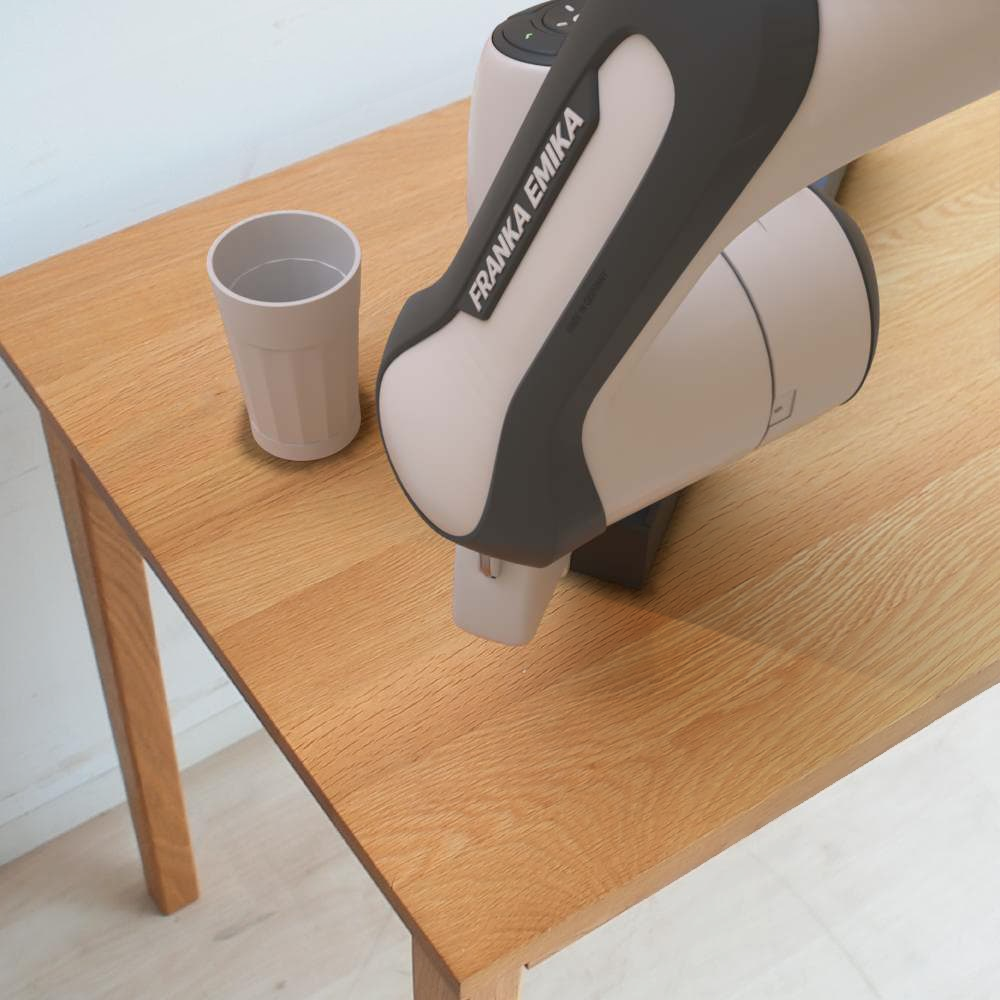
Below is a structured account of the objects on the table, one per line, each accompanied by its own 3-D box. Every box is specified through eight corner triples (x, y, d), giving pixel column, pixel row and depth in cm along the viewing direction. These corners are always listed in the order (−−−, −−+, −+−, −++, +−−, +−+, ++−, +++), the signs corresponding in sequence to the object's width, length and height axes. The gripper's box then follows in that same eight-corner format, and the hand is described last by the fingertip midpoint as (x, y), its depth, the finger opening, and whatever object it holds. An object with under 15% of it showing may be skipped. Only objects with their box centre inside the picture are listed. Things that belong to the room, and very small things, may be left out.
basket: (642, 591, 75) (649, 534, 72) (498, 549, 77) (498, 492, 74) (693, 461, 81) (702, 403, 78) (559, 426, 83) (562, 368, 80)
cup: (370, 471, 81) (356, 306, 72) (228, 471, 81) (195, 305, 72) (379, 374, 86) (366, 209, 77) (245, 374, 86) (217, 209, 77)
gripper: (560, 539, 56) (549, 736, 66) (700, 233, 69) (673, 438, 79) (409, 496, 57) (421, 695, 67) (574, 204, 70) (563, 409, 80)
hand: (558, 554), depth 73 cm, fingers closed
